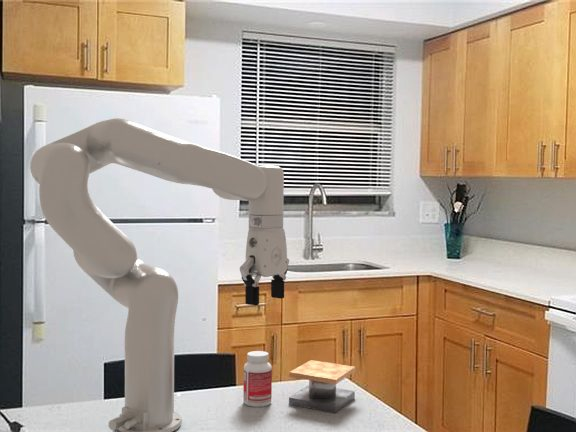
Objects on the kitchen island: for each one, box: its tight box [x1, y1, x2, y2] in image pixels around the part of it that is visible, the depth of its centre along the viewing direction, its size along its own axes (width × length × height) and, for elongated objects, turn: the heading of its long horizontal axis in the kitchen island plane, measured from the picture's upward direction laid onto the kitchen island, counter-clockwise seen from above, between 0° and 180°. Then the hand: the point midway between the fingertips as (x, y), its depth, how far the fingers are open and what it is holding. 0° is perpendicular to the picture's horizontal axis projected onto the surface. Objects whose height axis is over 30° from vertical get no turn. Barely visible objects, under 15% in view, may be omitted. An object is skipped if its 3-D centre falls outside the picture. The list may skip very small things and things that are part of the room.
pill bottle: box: [243, 350, 273, 408], centre depth 145 cm, size 6×6×11 cm
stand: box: [288, 359, 356, 414], centre depth 147 cm, size 11×11×7 cm
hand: (265, 301), depth 144 cm, fingers open, 9 cm apart
